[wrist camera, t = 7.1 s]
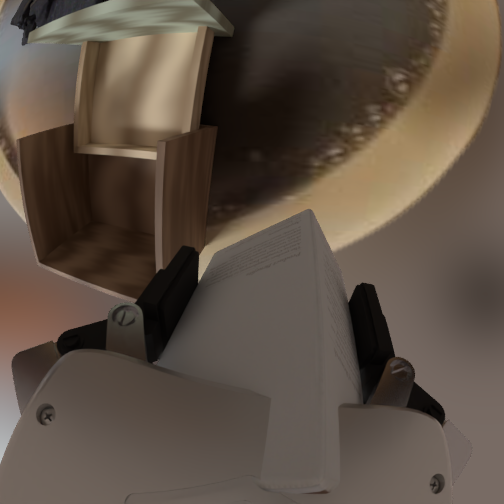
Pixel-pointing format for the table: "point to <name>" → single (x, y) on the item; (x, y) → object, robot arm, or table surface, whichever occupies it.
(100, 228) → the walnut box
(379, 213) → the table surface
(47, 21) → the black tote bag
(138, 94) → the pull-out wooden drawer
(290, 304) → the skincare box
